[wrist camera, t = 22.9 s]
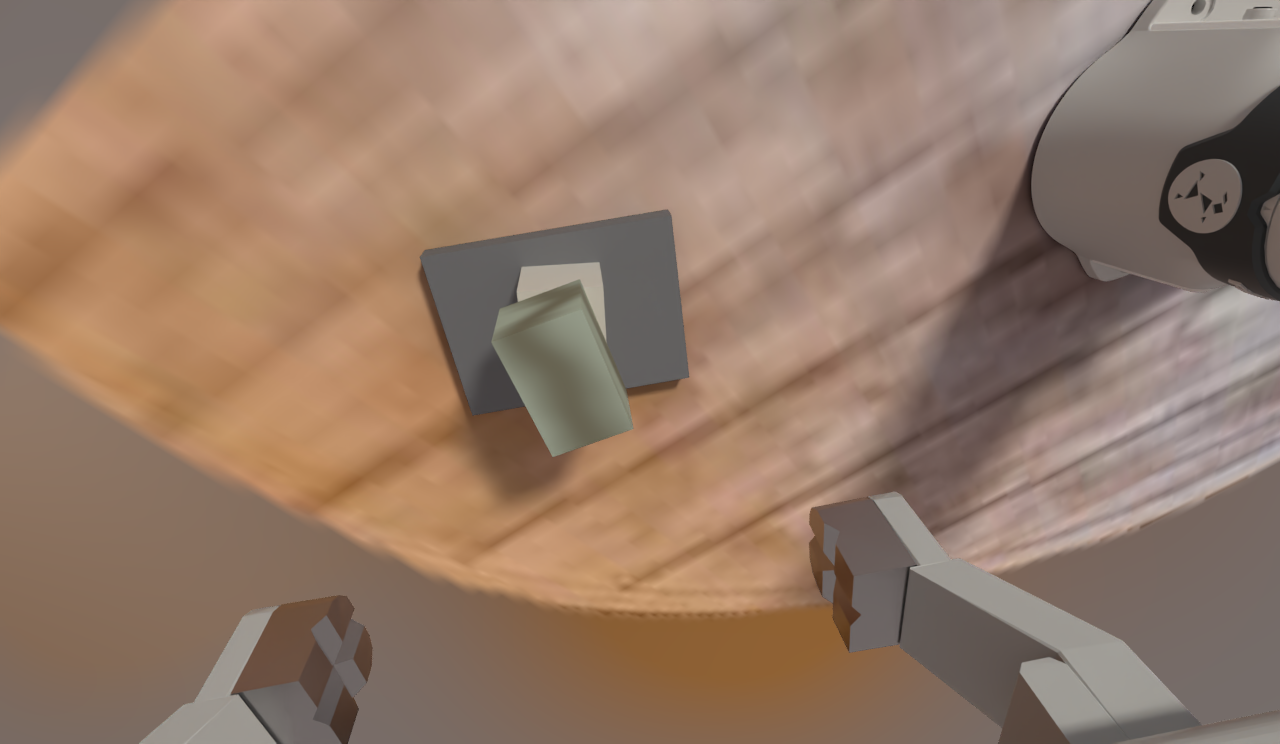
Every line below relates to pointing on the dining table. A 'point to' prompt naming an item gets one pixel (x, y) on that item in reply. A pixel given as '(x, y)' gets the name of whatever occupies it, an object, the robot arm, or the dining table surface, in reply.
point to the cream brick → (557, 275)
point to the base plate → (624, 247)
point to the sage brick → (563, 368)
